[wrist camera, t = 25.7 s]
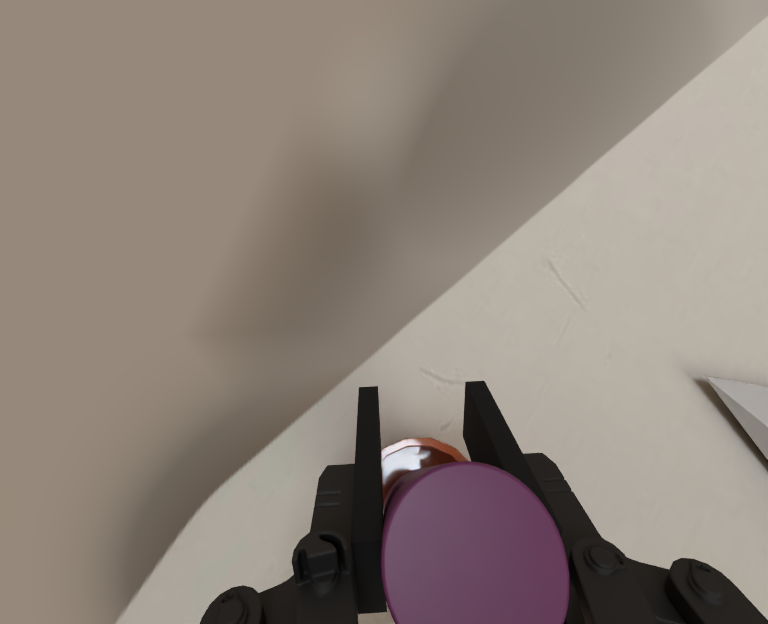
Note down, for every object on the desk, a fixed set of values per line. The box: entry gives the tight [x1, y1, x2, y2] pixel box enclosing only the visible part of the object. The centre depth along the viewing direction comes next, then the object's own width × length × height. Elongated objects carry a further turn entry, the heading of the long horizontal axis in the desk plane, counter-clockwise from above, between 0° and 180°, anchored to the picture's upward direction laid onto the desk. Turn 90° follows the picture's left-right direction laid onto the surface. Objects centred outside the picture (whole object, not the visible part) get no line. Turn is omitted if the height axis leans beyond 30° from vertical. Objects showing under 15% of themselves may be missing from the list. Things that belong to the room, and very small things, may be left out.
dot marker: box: [381, 461, 570, 624], centre depth 12 cm, size 4×4×10 cm
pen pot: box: [381, 438, 468, 512], centre depth 20 cm, size 6×6×6 cm
